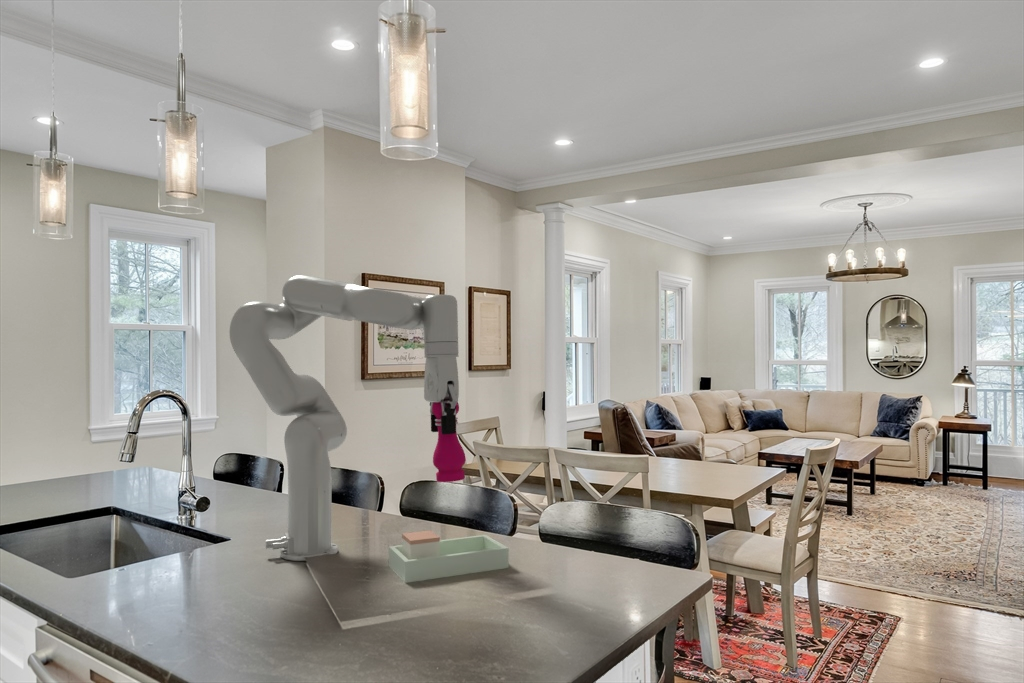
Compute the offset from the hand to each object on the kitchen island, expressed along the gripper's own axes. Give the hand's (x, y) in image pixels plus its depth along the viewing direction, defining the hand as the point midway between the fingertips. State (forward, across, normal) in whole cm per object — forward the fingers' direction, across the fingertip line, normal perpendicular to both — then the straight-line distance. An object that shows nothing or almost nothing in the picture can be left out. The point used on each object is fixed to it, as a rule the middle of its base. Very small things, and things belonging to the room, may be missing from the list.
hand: (443, 431), depth 148 cm
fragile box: (+27, +7, -8) cm, 29 cm away
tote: (+28, +7, -2) cm, 29 cm away
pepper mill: (+11, 0, +1) cm, 11 cm away
